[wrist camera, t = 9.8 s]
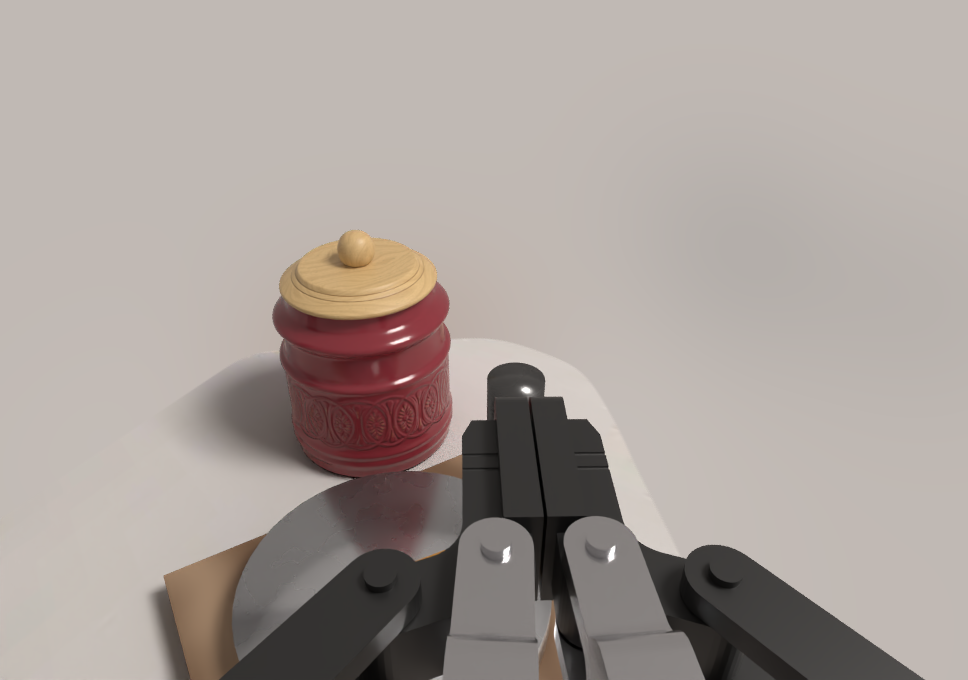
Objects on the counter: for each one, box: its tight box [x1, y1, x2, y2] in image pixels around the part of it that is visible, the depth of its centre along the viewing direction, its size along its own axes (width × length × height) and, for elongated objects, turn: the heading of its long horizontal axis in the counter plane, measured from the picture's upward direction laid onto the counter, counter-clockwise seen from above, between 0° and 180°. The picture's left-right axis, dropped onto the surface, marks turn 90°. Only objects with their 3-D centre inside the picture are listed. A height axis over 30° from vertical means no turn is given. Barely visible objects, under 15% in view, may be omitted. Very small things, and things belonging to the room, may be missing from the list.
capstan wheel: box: [232, 363, 552, 680], centre depth 37 cm, size 18×18×14 cm
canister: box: [272, 230, 452, 477], centre depth 53 cm, size 13×13×18 cm
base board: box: [164, 455, 563, 680], centre depth 42 cm, size 23×19×2 cm
